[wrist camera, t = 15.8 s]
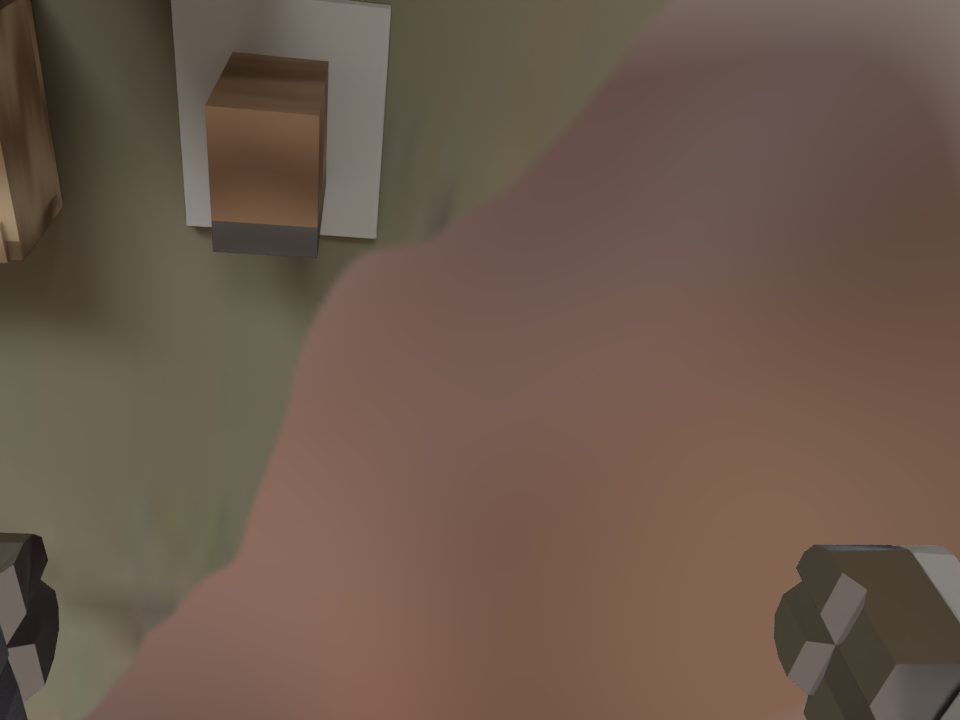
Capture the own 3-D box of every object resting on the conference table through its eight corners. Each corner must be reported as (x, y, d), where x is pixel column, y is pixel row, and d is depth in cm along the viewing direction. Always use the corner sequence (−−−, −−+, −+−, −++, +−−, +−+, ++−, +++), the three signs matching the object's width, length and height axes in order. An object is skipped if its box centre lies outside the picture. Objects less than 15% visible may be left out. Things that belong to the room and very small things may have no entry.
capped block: (232, 51, 40) (204, 105, 34) (328, 61, 41) (319, 115, 34) (237, 180, 44) (213, 251, 37) (325, 187, 45) (316, 257, 38)
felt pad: (173, -20, 39) (169, -16, 38) (390, 5, 41) (391, 8, 40) (189, 219, 46) (186, 225, 45) (376, 232, 47) (376, 238, 47)
